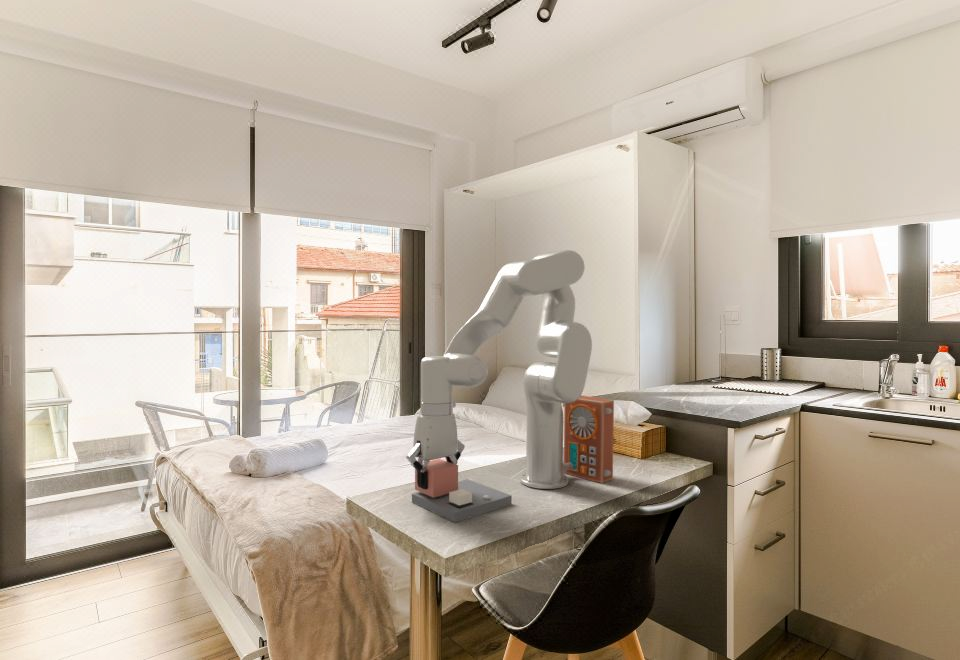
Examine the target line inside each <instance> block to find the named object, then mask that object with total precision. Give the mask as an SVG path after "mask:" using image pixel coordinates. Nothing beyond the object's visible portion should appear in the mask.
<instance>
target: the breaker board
mask: <svg viewBox="0 0 960 660" xmlns="http://www.w3.org/2000/svg"><path fill="white" fill-rule="evenodd" d="M460 489H463V490H466V491H468V492H471V493H472V502H470V503H467V504H463V505H460V506H459V505H457V504H455V503H452V502H450V501H449V493H448V494H447V495H443V496H439V497H436V498H433V497H431V496H429V495H426V494H424V493H422V492H419V491H417V492H413V493H411V503H413V504H415V505H417V506H419V507H422V508H423V509H425V510H428V511H430V512H433V513H434V514H435V515H438V516H440V517H442V518H445V519H447V520H449V521H451V522H453V523H457V522H461V521H463V520H467V519H469V518H473V517H475V516H479V515H482V514H485V513H488V512H491V511H495V510H497V509H500V508H503V507H504V508H505V507H507V506H510V505H512V501H513V500H512V497H513V496H512V494H509V493H506V492H503V491H500V490H498V489H496V488H493V487H490V486H487V485H485V484H482V483H479V482H476V481H473V480H472V479H468V478H466V479H462V480H458V490H460Z"/></svg>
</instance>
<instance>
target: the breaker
mask: <svg viewBox="0 0 960 660" xmlns="http://www.w3.org/2000/svg"><path fill="white" fill-rule="evenodd" d="M449 501H450V502H452V503H455V504H457V505H459V506H460V505H463V504H467V503H470V502H472V493H471V492H468V491H466V490H463V489H460V490H456V491H452V492H449Z"/></svg>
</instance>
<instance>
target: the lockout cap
mask: <svg viewBox="0 0 960 660" xmlns="http://www.w3.org/2000/svg"><path fill="white" fill-rule="evenodd" d="M422 464H423V463H422ZM426 472H428V488H427V489H422V488H420V487H418V484H417V470H415V469H414V490H415V491H417V492H422V493H424V494H426V495H429V496H431V497H433V498H434V497H437V496H441V495H444V494H448V493H449V492H452V491H456V490H458V482H459V465H458V464H457V465H456V464H453V463H450V462H447V461H446V460H445V459H442V458H439V459H434V460H430V461H429V464H428V466H427V469H426Z"/></svg>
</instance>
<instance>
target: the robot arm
mask: <svg viewBox="0 0 960 660" xmlns="http://www.w3.org/2000/svg"><path fill="white" fill-rule="evenodd" d="M585 267H586V266H585V262H584V259H583V257H582V256H581V254H579V253H578V252H577V251H574V250H571V249H570V250H569V249H567V250H559V251H552V252H545V253H540V254H538V255H536V256H534V257H533V258H532V259H528V260H522V261H521V260H520V261H513V262H509V263H506V264H505V265H504V266H502V267H501V268H500V270H499V271H498V272H497V274H496V276H495V279H494V280H493V282H492V284H491V285H490V288H489V289H488V291H487V293H486V295H485V297H484V299H483V301H482V303H481V304H480V306H479V308H478V309H477V311H476V312H475V313H474V314H473V315H472V316H471V317H470V318H469V319H468V320H467V321H466V322H465V323H464V324H463V325H462V327H461V328H460V329H459V330H458V331H457V332H456V333H455V334H454V336H453V337H452V339H451V341H450V342H449V344H448V346H447V348H446V350H445V351H444V353H443V355H430V356H425V357H423V358H422V359H421V361H420V414H419V415H417V417H416V421H415V426H414V434H413V447H412V449H410V451H409V452H408V453H407V454H406V456H405V458H406V460H407V461H408V462H409V463H410V465H411V467H413V468H414V471H415V470H417V484H418V487H420V488H422V489H427V488H428V472H426V469H427V466H428V464H429V461H432V460H437V459H442V458H444V460H445V461H447V462H450V463H453V464H456V465H458V460H459V459H460V457H461V455H462V453H463V451H464V449H465V447H466V446H465V444H464V443H463V442H461V441H460V440H459V439H458V426H457V421H456V415H455V413H454V412H453V411H454V408H456V406H457V405H456V402H455V401H454V399H453V398H454V387H465V388H475V387H477V386H480V385H482V384H483V383H484V382H486V379H487V377H488V373H489V370H488V366H487V364H486V362H485V360H483V359H482V358H481V357H479V356H476V355H475V354H476V352H477V351H478V349H480V347H481V346H482V345H483V344H485V343H486V342H487V341H488V340H490V339H492V338H494V337H496V336H497V335H499V334H501V333H503V332H504V331H505V330H507V329H508V328H509V326H510V325H511V322H512V320H513V319H514V317H515V315H516V312H517V311H518V310H519V307H520V305H521V303H522V302H523V300H524V298H525V296H528V297H529V296H538V295H541V297H542V308H541V314H540V319H539V320H540V321H539V326H538V330H537V335H536V349H537V351H538V352H539V353H540V354H541V355H543V356H545V357H549V358H554V359H556V362H553V361H552V362H551V361H537V362H534V363H532V364H530V365H529V367H527V369H526V370H525V373H524V376H523V390H524V395H525V400H526V450H525V451H526V453H525V454H526V457H525V458H526V459H525V460H526V461H525V462H526V463H525V464H526V465H525V469H526V471H525V472H524V473H522V474H521V475H520V480H519V481H520V483H521V484H523V485H524V486H526V487H529V488H533V489H541V490H552V489H560V488H564V487H566V486H568V484H569V477H568V476H567V474H565V472H566V470H570V469H573V464H572V463H571V462H568V463H563V461H564V410H563V405H562V404H563V403H572V402H575V401H576V400H577V399H578V398H579V397H580V396H581V395H582V394H583V392H584V390H585V386H586V383H587V382H586V381H587V376H588V371H589V367H590V362H591V361H590V360H591V356H592V350H593V349H592V348H593V340H592V336H591V332H590V331H589V329H588V328H587V327H586V326H585V325H584V324H582V323H579V322H577V321H575V322H574V319H575V310H576V298H575V295H574V292H573V290H572V287H571V286H572V285H573V284H576V283H577V282H579V281H580V280H581V279H582V277H583V275H584V272H585ZM422 463H423V464H422Z"/></svg>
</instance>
